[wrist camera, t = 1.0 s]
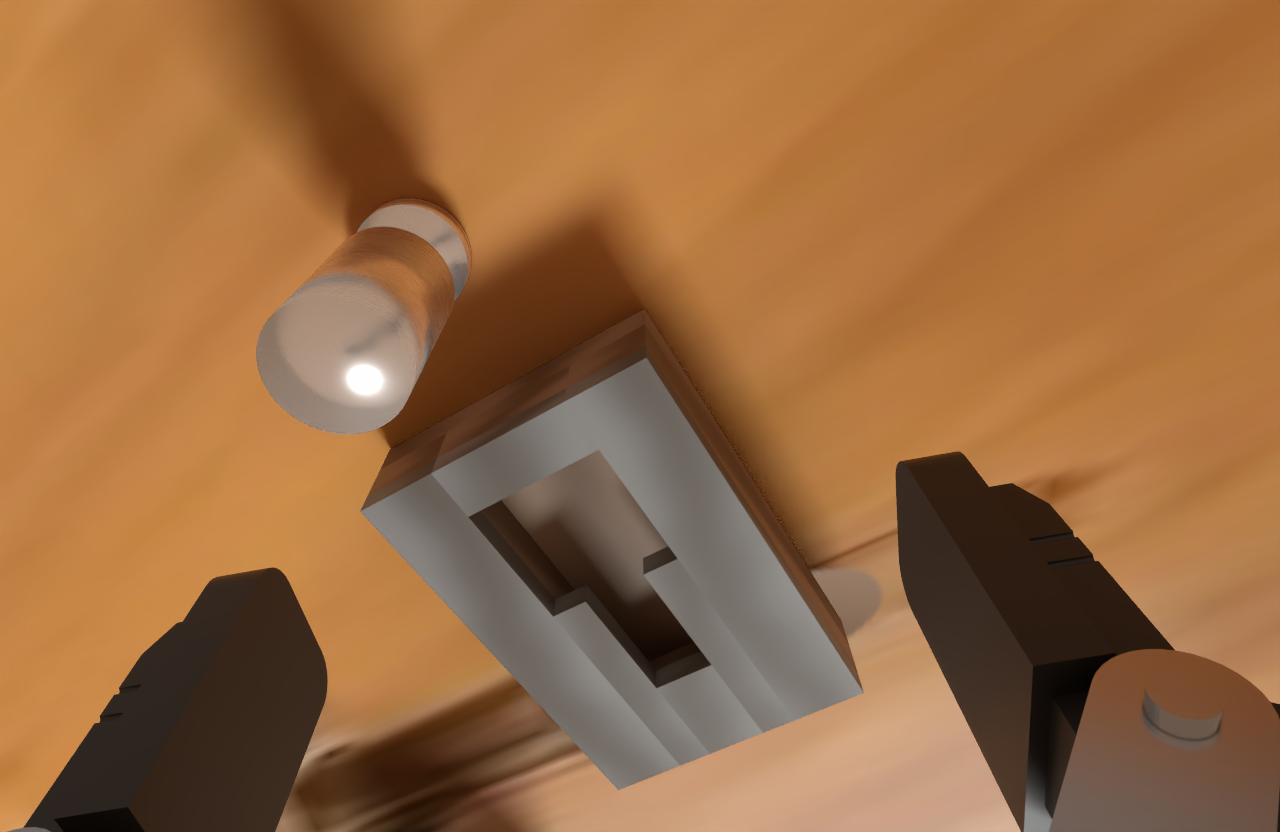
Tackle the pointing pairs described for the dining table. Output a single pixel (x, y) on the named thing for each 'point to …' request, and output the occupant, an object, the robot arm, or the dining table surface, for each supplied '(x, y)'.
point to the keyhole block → (617, 558)
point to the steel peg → (366, 319)
